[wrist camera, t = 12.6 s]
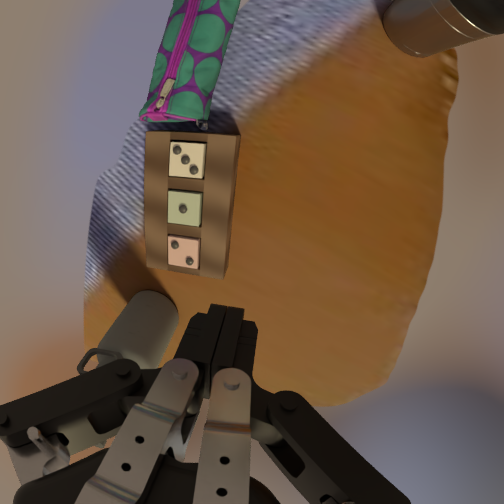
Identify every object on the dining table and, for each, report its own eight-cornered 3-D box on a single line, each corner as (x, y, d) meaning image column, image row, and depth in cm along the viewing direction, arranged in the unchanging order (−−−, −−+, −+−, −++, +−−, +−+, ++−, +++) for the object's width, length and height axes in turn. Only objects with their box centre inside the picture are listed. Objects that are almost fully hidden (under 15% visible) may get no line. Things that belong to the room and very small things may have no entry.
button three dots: (177, 140, 35) (169, 142, 33) (208, 142, 35) (203, 144, 33) (175, 172, 37) (168, 176, 35) (206, 175, 37) (200, 179, 35)
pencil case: (215, 129, 36) (195, 131, 28) (157, 120, 36) (123, 122, 28) (249, -2, 27) (240, -32, 19) (190, -6, 27) (166, -32, 19)
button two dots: (174, 229, 41) (167, 237, 39) (202, 234, 41) (197, 241, 38) (174, 256, 43) (167, 265, 40) (201, 261, 43) (196, 270, 40)
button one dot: (174, 186, 38) (167, 191, 36) (205, 190, 38) (199, 195, 36) (174, 216, 40) (167, 223, 38) (203, 220, 40) (198, 227, 37)
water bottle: (125, 285, 49) (39, 400, 24) (173, 286, 48) (97, 422, 23) (140, 328, 53) (76, 441, 28) (184, 332, 52) (132, 461, 27)
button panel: (158, 130, 37) (146, 131, 33) (240, 135, 36) (236, 136, 33) (156, 255, 45) (146, 266, 42) (227, 266, 45) (223, 279, 41)
